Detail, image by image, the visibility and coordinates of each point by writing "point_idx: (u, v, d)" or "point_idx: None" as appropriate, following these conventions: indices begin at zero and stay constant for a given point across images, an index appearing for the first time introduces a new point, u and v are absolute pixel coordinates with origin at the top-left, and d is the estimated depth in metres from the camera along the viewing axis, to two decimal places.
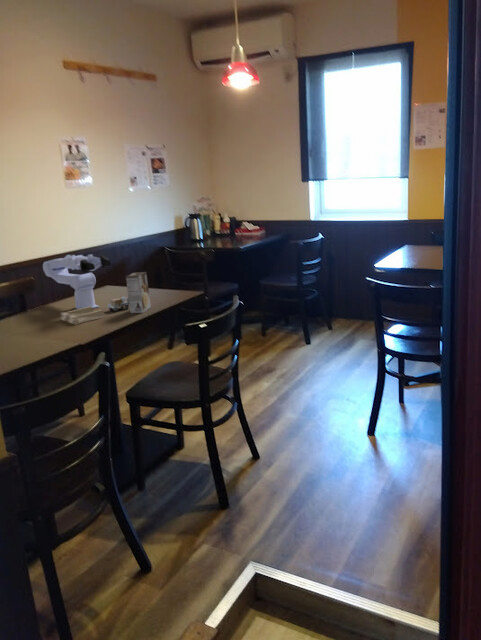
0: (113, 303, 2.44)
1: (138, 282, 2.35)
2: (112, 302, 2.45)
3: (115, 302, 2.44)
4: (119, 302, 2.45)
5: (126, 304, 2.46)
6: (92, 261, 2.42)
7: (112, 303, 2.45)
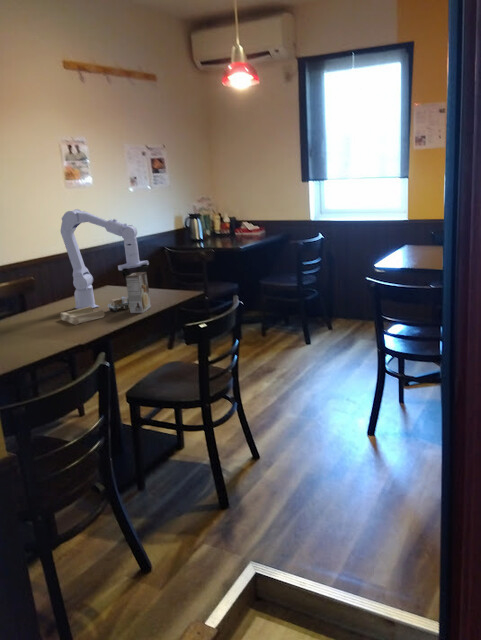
0: (113, 303, 2.44)
1: (138, 282, 2.35)
2: (112, 302, 2.45)
3: (115, 302, 2.44)
4: (119, 302, 2.45)
5: (126, 304, 2.46)
6: None
7: (112, 303, 2.45)
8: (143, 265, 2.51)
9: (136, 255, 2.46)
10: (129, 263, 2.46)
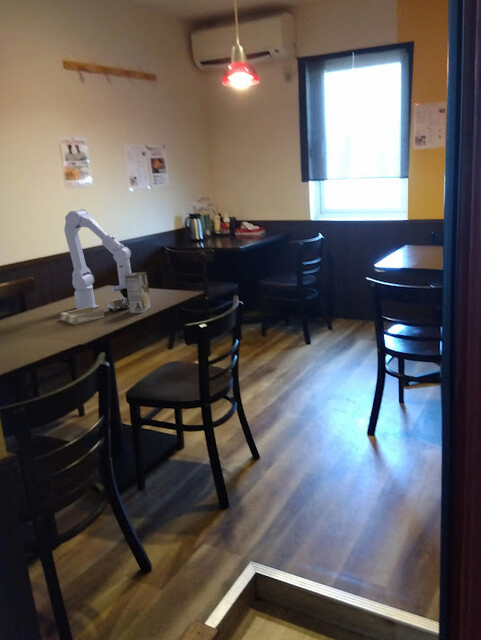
0: (112, 303, 2.44)
1: (138, 282, 2.35)
2: (111, 302, 2.44)
3: (114, 302, 2.43)
4: (118, 302, 2.45)
5: (125, 304, 2.46)
6: None
7: (111, 303, 2.45)
8: None
9: None
10: (122, 285, 2.45)
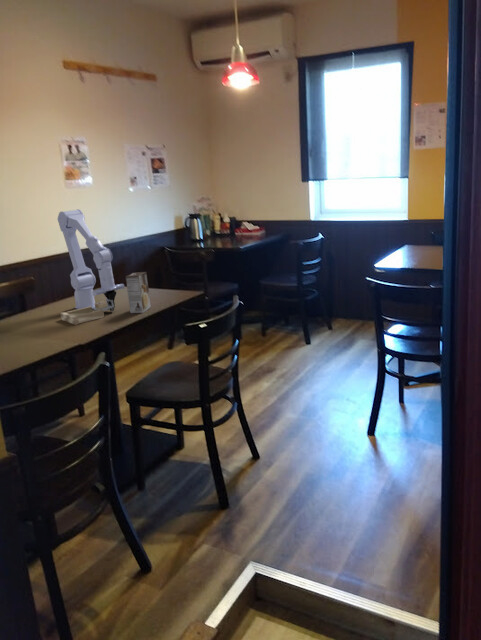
0: (97, 307, 2.39)
1: (138, 282, 2.35)
2: (96, 306, 2.40)
3: (99, 306, 2.39)
4: (103, 305, 2.40)
5: (111, 307, 2.41)
6: None
7: (96, 307, 2.40)
8: None
9: (111, 279, 2.39)
10: (104, 288, 2.40)
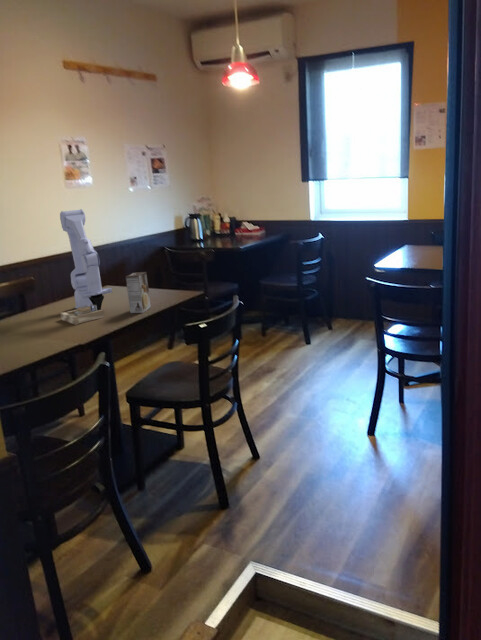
0: (80, 311, 2.34)
1: (138, 282, 2.35)
2: (79, 310, 2.35)
3: (82, 310, 2.34)
4: (87, 310, 2.35)
5: None
6: None
7: (79, 311, 2.35)
8: (106, 293, 2.41)
9: (98, 283, 2.36)
10: (90, 292, 2.36)
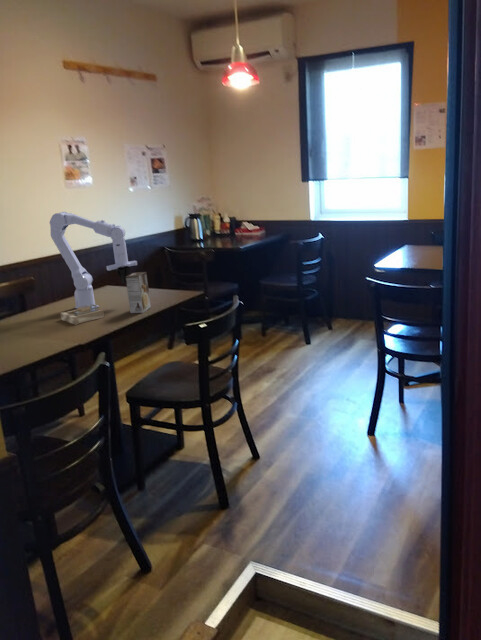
0: (80, 311, 2.34)
1: (138, 282, 2.35)
2: (79, 310, 2.35)
3: (82, 310, 2.34)
4: (87, 310, 2.35)
5: None
6: None
7: (79, 311, 2.35)
8: (132, 265, 2.53)
9: (124, 255, 2.48)
10: (117, 263, 2.48)
